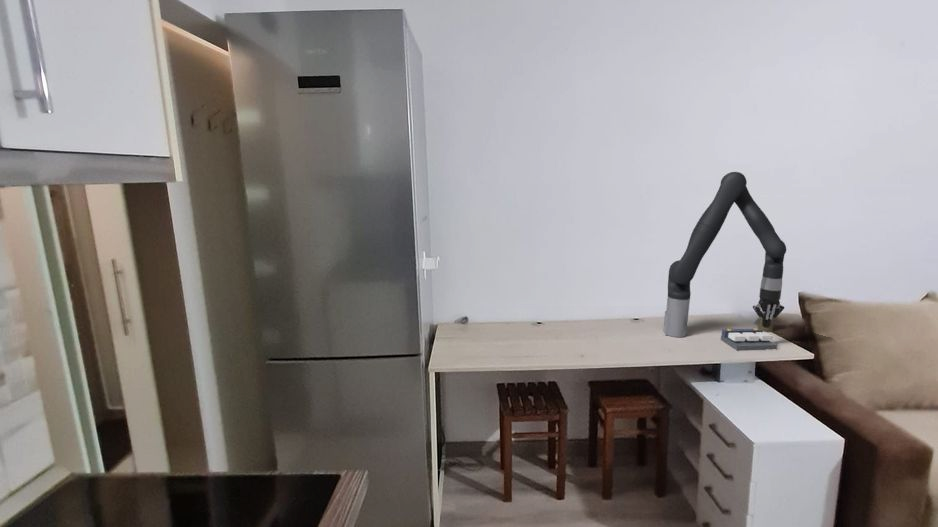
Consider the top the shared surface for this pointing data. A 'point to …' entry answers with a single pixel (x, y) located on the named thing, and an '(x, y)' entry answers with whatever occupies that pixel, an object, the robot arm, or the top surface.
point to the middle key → (751, 336)
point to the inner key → (736, 336)
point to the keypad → (746, 344)
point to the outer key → (764, 336)
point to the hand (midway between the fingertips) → (765, 327)
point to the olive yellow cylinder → (764, 327)
